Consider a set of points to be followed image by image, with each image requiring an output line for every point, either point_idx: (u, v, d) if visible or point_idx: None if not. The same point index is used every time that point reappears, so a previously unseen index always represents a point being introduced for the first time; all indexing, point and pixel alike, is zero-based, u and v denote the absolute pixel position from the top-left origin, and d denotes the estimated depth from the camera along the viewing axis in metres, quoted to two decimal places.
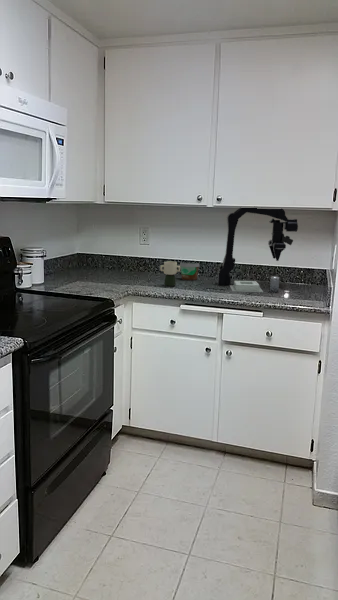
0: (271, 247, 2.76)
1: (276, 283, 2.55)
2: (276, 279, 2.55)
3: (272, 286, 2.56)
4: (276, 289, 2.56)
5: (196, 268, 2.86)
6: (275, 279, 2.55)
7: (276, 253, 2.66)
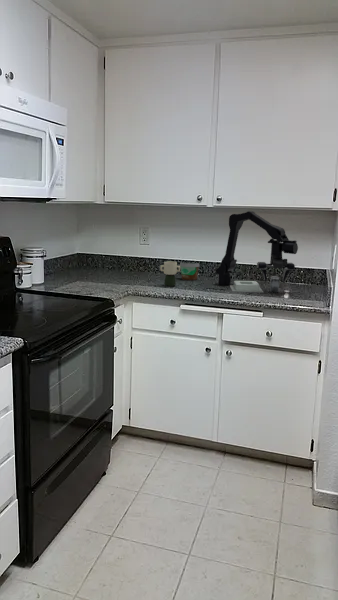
0: (284, 270, 2.58)
1: (276, 283, 2.55)
2: (276, 279, 2.55)
3: (272, 286, 2.56)
4: (276, 289, 2.56)
5: (196, 268, 2.86)
6: (275, 279, 2.55)
7: (263, 273, 2.57)
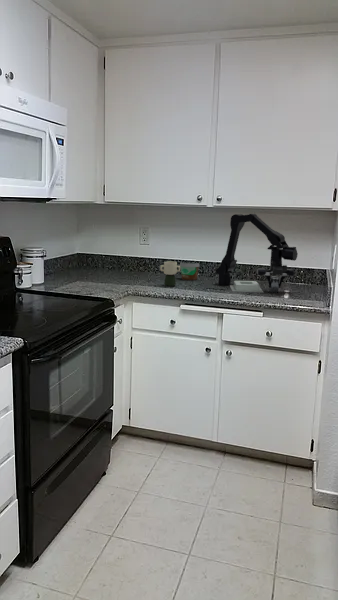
0: (279, 276, 2.58)
1: (276, 283, 2.55)
2: (276, 279, 2.55)
3: (272, 286, 2.56)
4: (276, 289, 2.56)
5: (196, 268, 2.86)
6: (275, 279, 2.55)
7: (267, 279, 2.58)
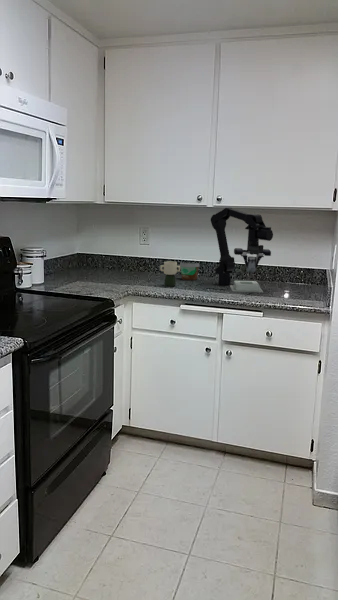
0: (256, 256, 2.61)
1: (253, 263, 2.58)
2: (253, 259, 2.57)
3: (249, 266, 2.58)
4: (253, 269, 2.58)
5: (196, 268, 2.86)
6: (252, 259, 2.57)
7: None
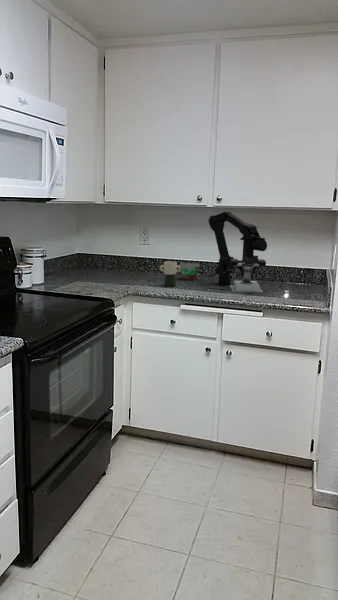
0: (252, 266, 2.63)
1: (248, 273, 2.60)
2: (248, 269, 2.59)
3: (244, 276, 2.60)
4: (248, 279, 2.60)
5: (196, 268, 2.86)
6: (247, 269, 2.59)
7: None
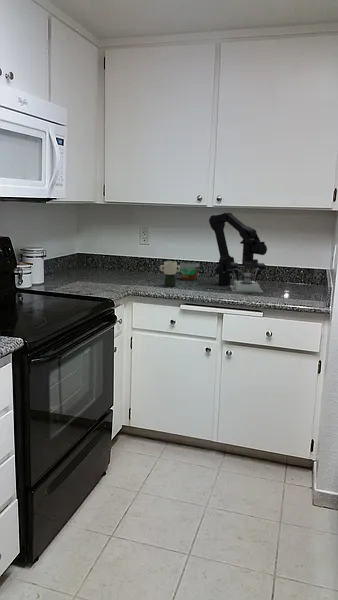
0: (256, 270, 2.63)
1: (248, 280, 2.60)
2: (248, 276, 2.60)
3: (244, 283, 2.61)
4: None
5: (196, 268, 2.86)
6: (247, 276, 2.60)
7: None
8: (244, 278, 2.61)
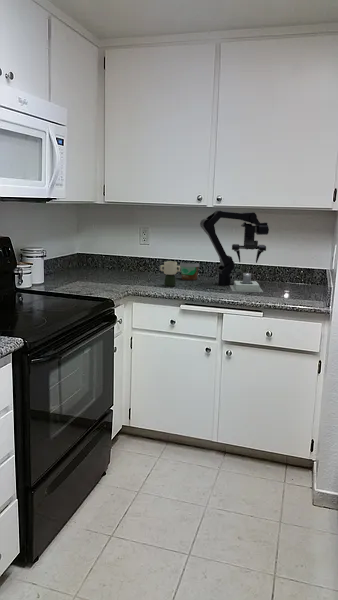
0: (257, 251, 2.77)
1: (248, 280, 2.60)
2: (248, 276, 2.60)
3: (244, 282, 2.61)
4: None
5: (196, 268, 2.86)
6: (247, 276, 2.60)
7: None
8: (244, 278, 2.61)
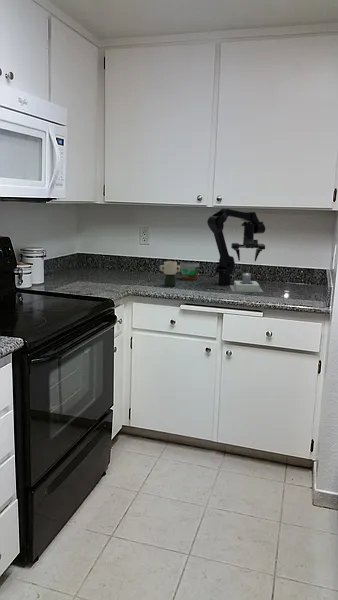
0: (256, 250, 2.84)
1: (247, 279, 2.60)
2: (247, 276, 2.60)
3: (244, 282, 2.61)
4: None
5: (196, 268, 2.86)
6: (246, 276, 2.60)
7: (237, 253, 2.83)
8: (244, 278, 2.61)
